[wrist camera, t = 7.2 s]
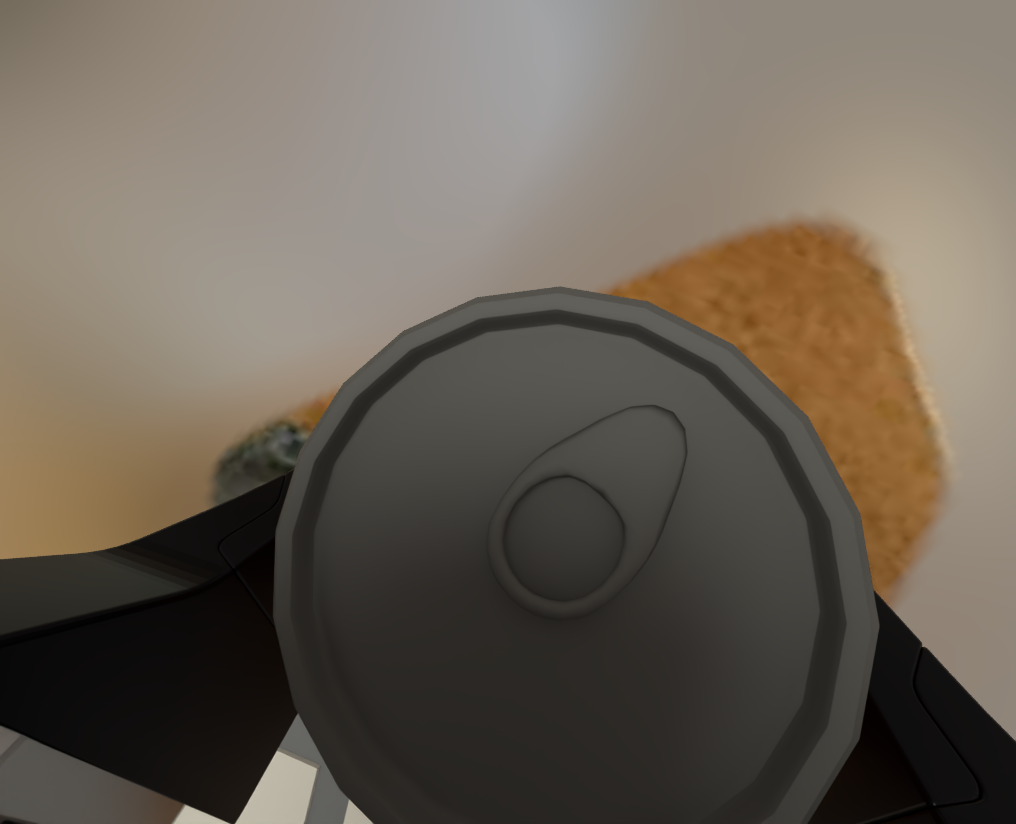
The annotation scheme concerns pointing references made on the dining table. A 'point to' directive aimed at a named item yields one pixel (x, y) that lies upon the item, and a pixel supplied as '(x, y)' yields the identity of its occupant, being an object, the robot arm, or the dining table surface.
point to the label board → (292, 790)
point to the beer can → (572, 576)
